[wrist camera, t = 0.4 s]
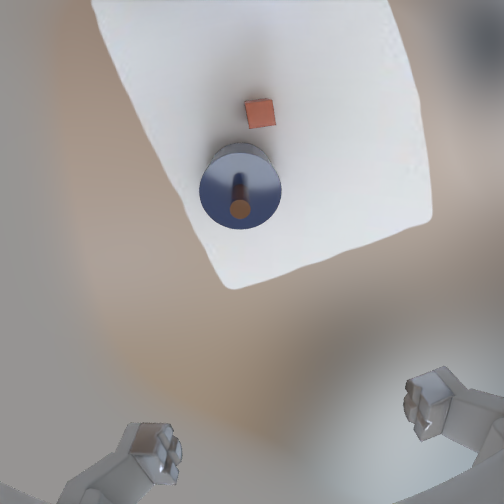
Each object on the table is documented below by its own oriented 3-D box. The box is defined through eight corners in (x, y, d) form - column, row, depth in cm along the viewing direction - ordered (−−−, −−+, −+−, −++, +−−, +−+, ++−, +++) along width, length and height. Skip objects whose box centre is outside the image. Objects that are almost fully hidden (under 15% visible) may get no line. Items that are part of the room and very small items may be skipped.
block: (266, 98, 49) (272, 99, 40) (269, 119, 51) (276, 125, 42) (244, 101, 49) (245, 103, 41) (248, 122, 51) (249, 128, 43)
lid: (224, 136, 43) (221, 145, 36) (295, 176, 47) (306, 194, 40) (186, 204, 48) (177, 226, 41) (254, 238, 52) (256, 264, 45)
